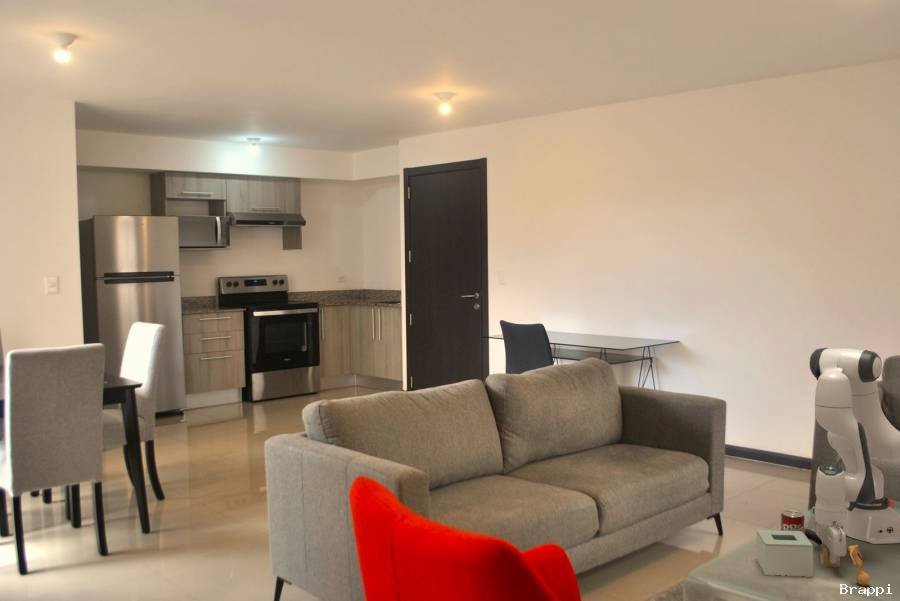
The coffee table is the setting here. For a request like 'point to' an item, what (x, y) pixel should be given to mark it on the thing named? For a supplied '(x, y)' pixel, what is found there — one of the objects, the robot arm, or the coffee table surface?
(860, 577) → the figurine
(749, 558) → the coffee table surface
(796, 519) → the soda can
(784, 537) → the coin box
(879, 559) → the coffee table surface
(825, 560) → the tan rectangular block
